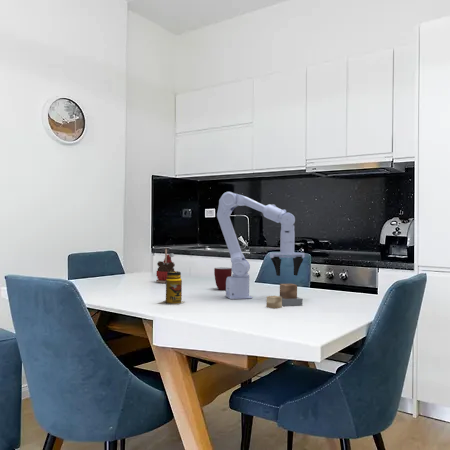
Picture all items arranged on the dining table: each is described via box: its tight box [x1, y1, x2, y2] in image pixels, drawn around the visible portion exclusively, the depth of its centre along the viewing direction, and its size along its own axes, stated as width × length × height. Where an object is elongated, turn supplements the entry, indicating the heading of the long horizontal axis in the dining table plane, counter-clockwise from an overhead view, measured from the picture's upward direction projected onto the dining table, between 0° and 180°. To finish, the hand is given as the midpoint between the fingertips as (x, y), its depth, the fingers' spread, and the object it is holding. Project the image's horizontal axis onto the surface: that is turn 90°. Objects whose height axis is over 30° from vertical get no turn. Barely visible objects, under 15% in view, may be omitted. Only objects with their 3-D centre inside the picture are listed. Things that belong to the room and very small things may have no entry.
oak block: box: [266, 295, 283, 310], centre depth 173 cm, size 4×4×4 cm
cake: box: [155, 247, 175, 284], centre depth 241 cm, size 11×9×18 cm
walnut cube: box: [279, 283, 298, 299], centre depth 180 cm, size 5×5×5 cm
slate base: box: [278, 295, 303, 307], centre depth 180 cm, size 8×8×2 cm
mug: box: [213, 266, 233, 291], centre depth 218 cm, size 10×8×10 cm
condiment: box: [159, 270, 185, 306], centre depth 180 cm, size 7×8×12 cm
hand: (286, 275), depth 191 cm, fingers open, 7 cm apart
